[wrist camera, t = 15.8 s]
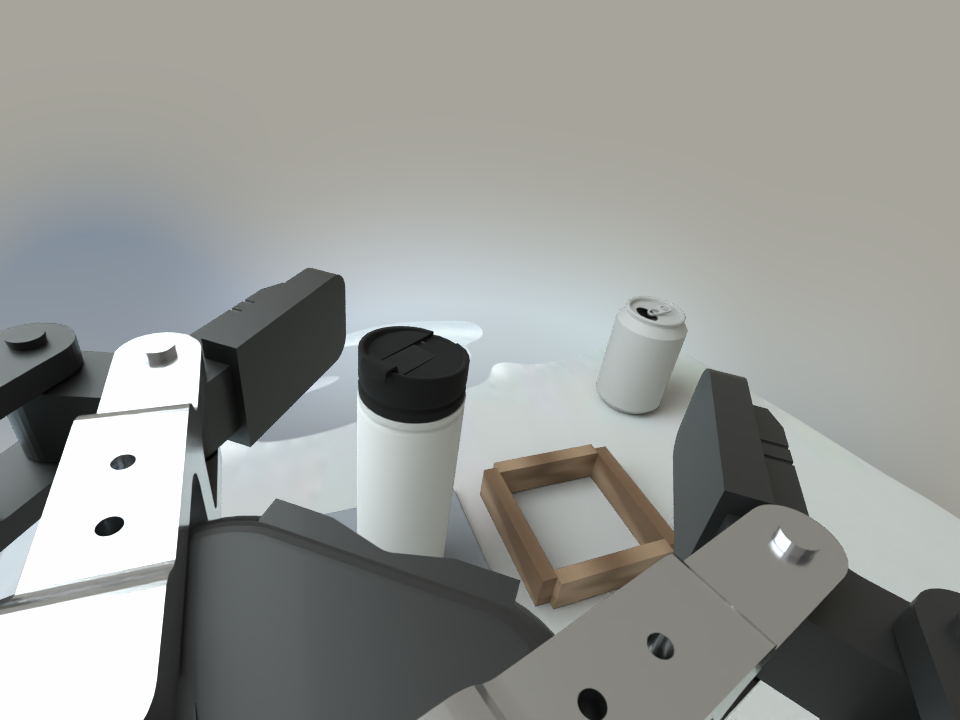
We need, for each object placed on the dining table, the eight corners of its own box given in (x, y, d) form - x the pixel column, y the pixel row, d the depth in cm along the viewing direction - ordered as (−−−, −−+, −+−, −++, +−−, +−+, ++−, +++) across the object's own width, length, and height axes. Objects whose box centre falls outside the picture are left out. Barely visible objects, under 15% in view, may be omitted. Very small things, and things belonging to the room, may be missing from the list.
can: (583, 382, 65) (608, 293, 59) (635, 376, 68) (665, 290, 61) (615, 422, 60) (646, 328, 53) (671, 414, 62) (708, 323, 56)
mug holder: (594, 465, 54) (601, 442, 52) (674, 571, 44) (686, 547, 43) (477, 489, 49) (481, 465, 47) (538, 613, 40) (546, 588, 38)
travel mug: (335, 576, 40) (327, 342, 29) (396, 520, 44) (409, 302, 33) (400, 627, 37) (419, 393, 26) (458, 562, 42) (494, 341, 31)
